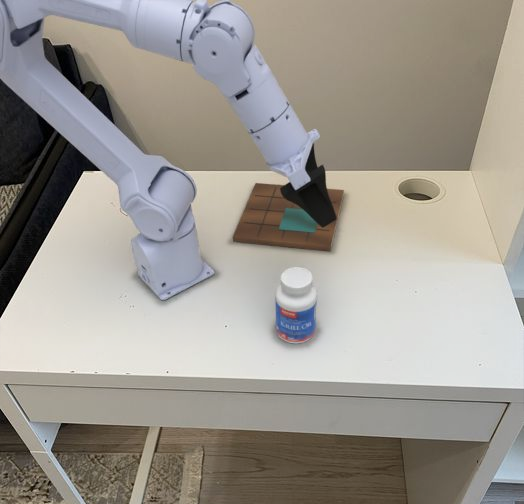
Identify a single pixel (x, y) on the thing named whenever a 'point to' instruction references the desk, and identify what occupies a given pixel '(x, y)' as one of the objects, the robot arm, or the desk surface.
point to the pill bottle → (296, 305)
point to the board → (284, 221)
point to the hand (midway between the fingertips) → (324, 209)
